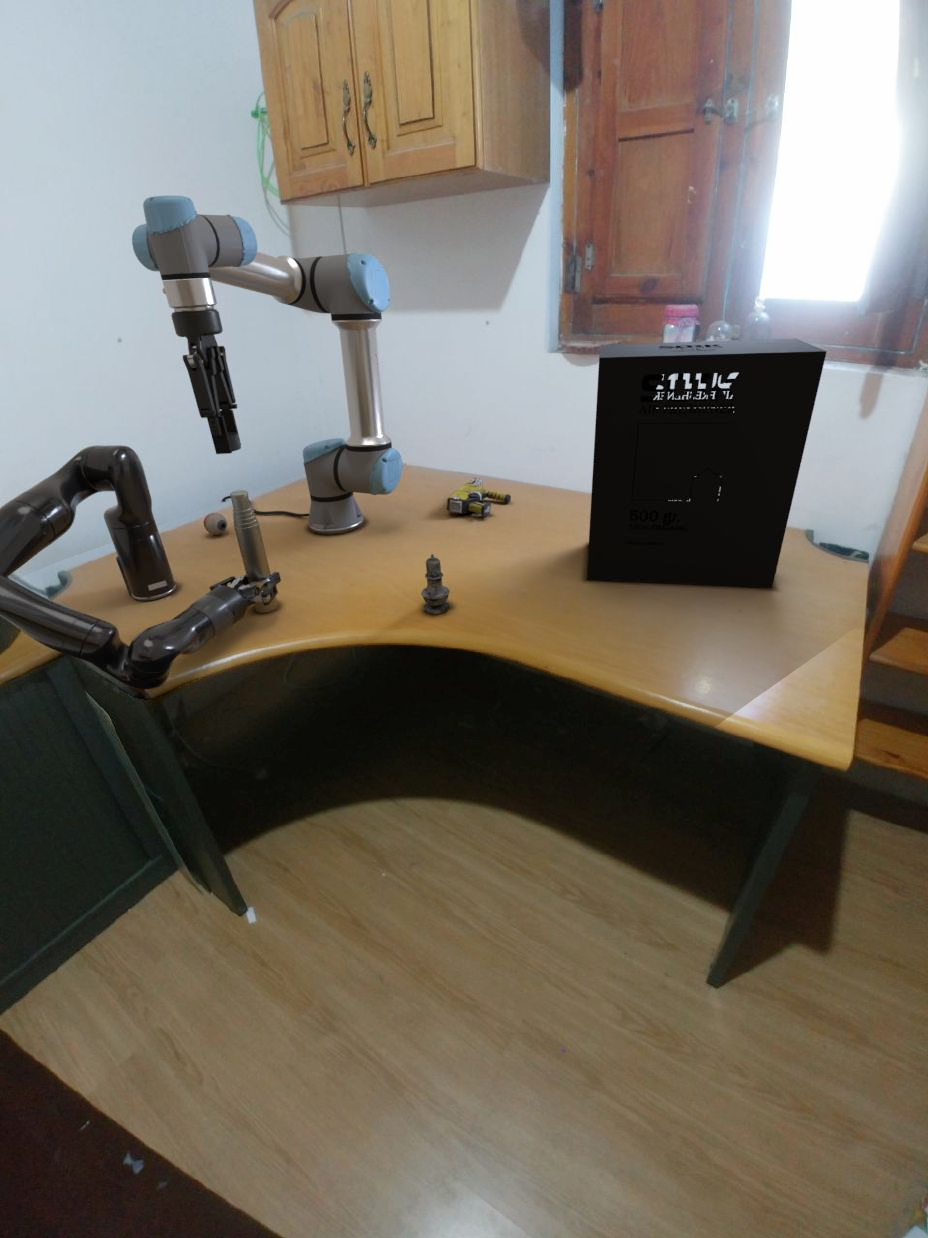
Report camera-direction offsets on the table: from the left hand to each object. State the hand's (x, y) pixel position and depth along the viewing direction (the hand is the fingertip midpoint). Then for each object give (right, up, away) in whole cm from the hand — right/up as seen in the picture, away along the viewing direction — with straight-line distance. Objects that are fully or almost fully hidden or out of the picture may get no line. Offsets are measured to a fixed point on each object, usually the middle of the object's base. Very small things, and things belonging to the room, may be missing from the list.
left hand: (267, 574), depth 128 cm
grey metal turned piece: (+36, -7, -3) cm, 37 cm away
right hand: (-2, +22, -15) cm, 27 cm away
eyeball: (-27, +14, +40) cm, 50 cm away
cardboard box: (+89, +3, +9) cm, 90 cm away
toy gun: (+47, +24, +50) cm, 73 cm away
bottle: (-1, -7, +1) cm, 7 cm away
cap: (-2, +22, -15) cm, 27 cm away
